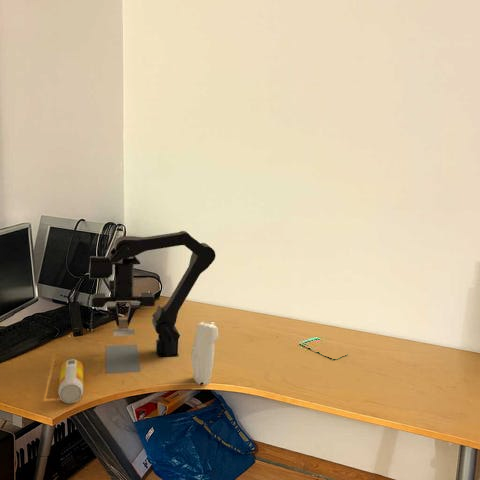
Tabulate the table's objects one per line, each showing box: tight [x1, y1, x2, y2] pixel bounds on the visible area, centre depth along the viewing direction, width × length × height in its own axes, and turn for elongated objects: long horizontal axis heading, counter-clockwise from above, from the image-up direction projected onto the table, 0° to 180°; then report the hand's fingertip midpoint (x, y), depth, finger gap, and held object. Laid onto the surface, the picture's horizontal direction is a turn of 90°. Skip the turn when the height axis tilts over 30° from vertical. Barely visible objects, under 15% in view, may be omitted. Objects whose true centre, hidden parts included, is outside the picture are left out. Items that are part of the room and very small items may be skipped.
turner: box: [112, 316, 135, 337], centre depth 154 cm, size 15×6×3 cm, turn 15°
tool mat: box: [105, 344, 141, 374], centre depth 156 cm, size 10×20×1 cm, turn 15°
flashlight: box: [191, 321, 219, 386], centre depth 144 cm, size 7×18×7 cm
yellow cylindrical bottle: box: [57, 359, 84, 404], centre depth 135 cm, size 6×6×15 cm
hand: (122, 326), depth 156 cm, fingers closed on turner, 3 cm apart
